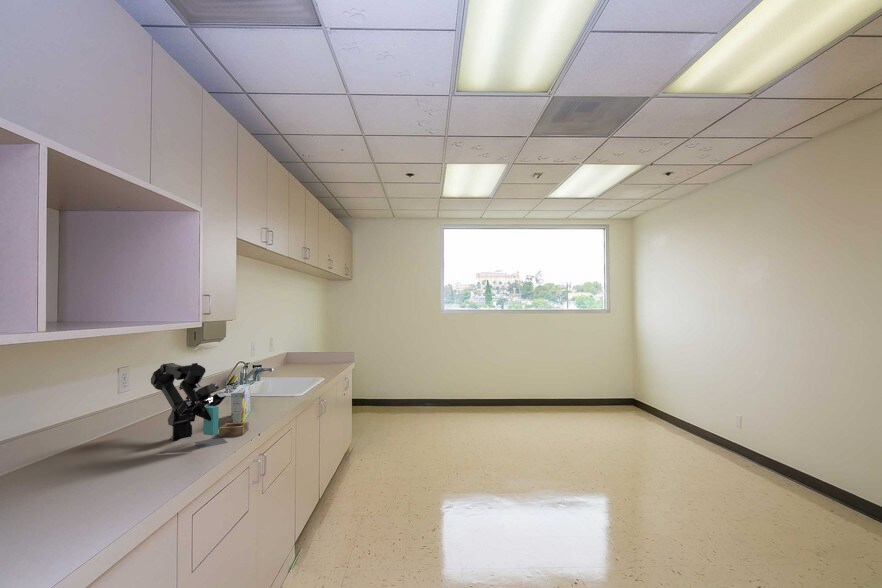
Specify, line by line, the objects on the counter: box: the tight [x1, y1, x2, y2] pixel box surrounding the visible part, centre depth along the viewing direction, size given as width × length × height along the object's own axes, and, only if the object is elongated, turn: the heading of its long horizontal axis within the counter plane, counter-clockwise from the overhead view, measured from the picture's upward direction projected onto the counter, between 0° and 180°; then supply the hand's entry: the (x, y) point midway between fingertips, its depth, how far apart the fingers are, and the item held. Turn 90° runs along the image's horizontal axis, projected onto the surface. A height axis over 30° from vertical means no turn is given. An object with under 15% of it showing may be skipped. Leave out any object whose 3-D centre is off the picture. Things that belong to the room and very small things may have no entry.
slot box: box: [218, 421, 250, 437], centre depth 169 cm, size 10×7×4 cm
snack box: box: [230, 383, 252, 423], centre depth 194 cm, size 21×6×15 cm, turn 17°
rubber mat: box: [194, 436, 228, 449], centre depth 157 cm, size 10×10×1 cm
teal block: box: [202, 405, 219, 437], centre depth 157 cm, size 5×2×11 cm, turn 73°
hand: (213, 419), depth 157 cm, fingers closed on teal block, 2 cm apart
